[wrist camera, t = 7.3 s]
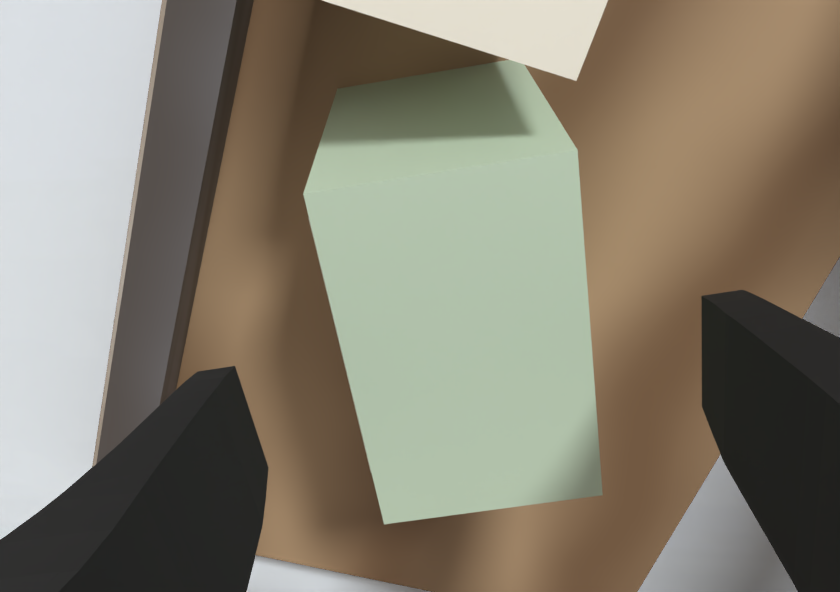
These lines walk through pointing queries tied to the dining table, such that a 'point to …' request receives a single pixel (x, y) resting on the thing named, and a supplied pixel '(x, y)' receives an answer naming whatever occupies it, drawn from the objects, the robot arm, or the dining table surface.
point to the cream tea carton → (501, 26)
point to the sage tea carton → (459, 290)
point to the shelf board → (604, 252)
